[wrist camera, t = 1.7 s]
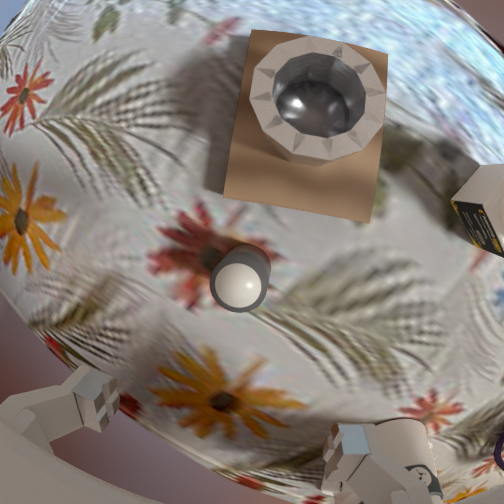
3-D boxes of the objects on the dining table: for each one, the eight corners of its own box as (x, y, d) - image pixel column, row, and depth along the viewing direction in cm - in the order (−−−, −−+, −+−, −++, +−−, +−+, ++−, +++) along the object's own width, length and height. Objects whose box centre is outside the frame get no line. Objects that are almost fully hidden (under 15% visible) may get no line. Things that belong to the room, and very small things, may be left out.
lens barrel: (355, 175, 25) (377, 171, 18) (252, 156, 26) (241, 146, 19) (365, 82, 23) (387, 54, 16) (267, 64, 24) (261, 30, 17)
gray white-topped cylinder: (266, 293, 31) (261, 317, 26) (220, 285, 32) (206, 306, 26) (274, 248, 30) (271, 263, 24) (226, 240, 31) (212, 253, 25)
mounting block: (362, 220, 28) (369, 223, 26) (227, 196, 30) (222, 197, 27) (381, 62, 24) (387, 54, 22) (254, 39, 25) (251, 29, 23)
